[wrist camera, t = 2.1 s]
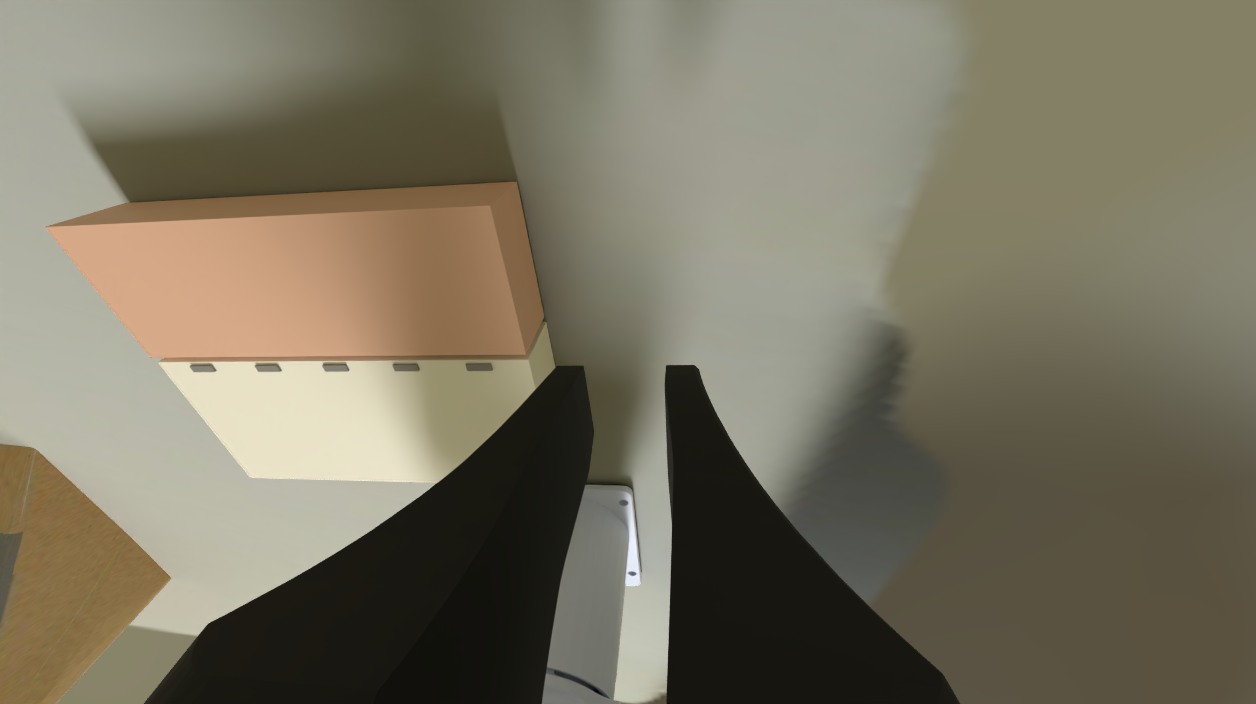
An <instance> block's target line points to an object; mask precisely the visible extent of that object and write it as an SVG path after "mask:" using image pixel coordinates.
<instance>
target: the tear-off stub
mask: <svg viewBox="0 0 1256 704" xmlns="http://www.w3.org/2000/svg"><path fill="white" fill-rule="evenodd" d="M45 228H46V229H47V230H48V231H49V233H50V234H51V235H52V236H53V238H54V239H55V240H56V241H57V243H58V244H59V245H60V246H61V248H62V249H63V250H64V251H65V253H66V254H67V255H68V256H69V257H70V259H71V260H72V261H73V262H74V264H75V265H76V266H77V267H78V269H79V270H80V271H81V272H82V274H83V275H84V276H85V277H86V279H87V280H88V281H89V282H90V283H91V285H92V286H93V287H94V288H95V290H96V291H97V292H98V293H99V295H100V296H101V297H102V298H103V300H104V301H105V302H106V303H107V304H108V306H109V307H110V308H111V309H112V311H113V312H114V313H115V314H116V316H117V317H118V318H119V319H120V321H121V322H122V323H123V324H124V326H125V327H126V328H127V329H128V330H129V332H130V333H131V334H132V335H133V337H134V338H135V339H136V340H137V342H138V343H139V344H140V345H141V347H142V348H143V349H144V350H145V352H146V353H147V354H148V355H149V356H150V358H178V357H300V356H422V355H526V354H527V352H528V350H529V348H530V345H531V343H532V341H533V339H534V337H535V335H536V333H537V331H538V329H539V327H540V325H541V323H542V321H543V319H544V312H543V307H542V303H541V298H540V293H539V288H538V283H537V278H536V273H535V268H534V263H533V258H532V253H531V248H530V243H529V239H528V234H527V229H526V224H525V219H524V214H523V209H522V204H521V199H520V194H519V189H518V184H517V182H501V183H482V184H464V185H445V186H427V187H409V188H390V189H372V190H354V191H335V192H317V193H298V194H280V195H262V196H243V197H225V198H207V199H188V200H170V201H152V202H133V203H124V204H121V205H117V206H114V207H110V208H107V209H104V210H100V211H97V212H94V213H90V214H87V215H84V216H80V217H77V218H74V219H70V220H67V221H64V222H60V223H57V224H54V225H50V226H47V227H45Z"/></svg>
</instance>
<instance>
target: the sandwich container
mask: <svg viewBox="0 0 1256 704" xmlns="http://www.w3.org/2000/svg"><path fill="white" fill-rule="evenodd" d="M170 580H171V577H170V576H169V575H168V574H167V573H166V572H165V571H164V570H163V569H162V568H161V567H160V566H159V565H158V564H157V563H156V562H155V561H154V560H153V559H152V558H151V557H150V556H149V555H148V554H147V553H146V552H145V551H144V550H143V549H142V548H141V547H140V546H139V545H138V544H137V543H136V542H135V541H134V540H133V539H132V538H131V537H130V536H129V535H128V534H127V533H126V532H124V531H123V530H122V529H121V528H120V527H119V526H118V525H117V524H116V523H115V522H114V521H113V520H112V519H110V518H109V517H108V516H107V515H106V514H105V513H104V512H103V511H102V510H101V509H100V508H99V507H98V506H96V505H95V504H94V503H93V502H92V501H91V500H90V499H89V498H88V497H87V496H86V495H85V494H84V493H82V492H81V491H80V490H79V489H78V488H77V487H76V486H75V485H74V484H73V483H72V482H71V481H70V480H68V479H67V478H66V477H65V476H64V475H63V474H62V473H61V472H60V471H59V470H58V469H57V468H56V467H54V466H53V465H52V464H51V463H50V462H49V461H48V460H47V459H46V458H45V457H44V456H43V455H42V454H40V453H39V452H38V451H37V450H36V449H34V448H31V447H22V446H13V445H3V444H0V704H56V703H57V702H58V701H59V700H60V699H61V698H62V697H63V695H64V694H66V692H67V691H68V690H69V689H70V688H71V687H72V686H73V685H74V684H75V683H76V682H77V681H78V679H79V678H80V677H81V676H82V675H83V674H84V673H85V672H86V671H87V670H88V668H89V667H90V666H91V665H92V664H93V663H94V662H95V661H96V660H97V659H98V658H99V657H100V656H101V654H102V653H103V652H104V651H105V650H106V649H107V648H108V647H109V646H110V645H111V644H112V642H113V641H114V640H115V639H116V638H117V637H118V636H119V635H120V634H121V633H122V631H124V630H125V628H126V627H127V626H128V625H129V624H130V623H131V622H132V621H133V620H134V619H135V618H136V617H137V615H138V614H139V613H140V612H141V611H142V610H143V609H144V608H145V607H146V606H147V605H148V604H149V602H150V601H151V600H152V599H153V598H154V597H155V596H156V595H157V594H158V593H159V592H160V590H161V589H162V588H163V587H164V586H165V585H166V584H167V583H168V582H169V581H170Z"/></svg>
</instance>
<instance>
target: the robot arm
mask: <svg viewBox="0 0 1256 704" xmlns="http://www.w3.org/2000/svg"><path fill="white" fill-rule="evenodd" d="M665 406H666V433H667V461H668V480H669V493H670V505H671V517H672V553H671V587H670V618H669V647H668V676H667V704H960V703H959V701H958V700H957V697H956V696H955V694H954V692H953V690H952V689H951V687H950V685H949V683H948V682H947V680H946V679H945V677H944V675H943V674H942V673H941V672H940V671H939V670H938V669H937V668H936V667H935V666H933V665H932V664H931V663H930V662H929V661H928V660H927V659H926V658H924V657H923V656H922V655H921V654H920V653H919V652H918V651H917V650H916V649H914V648H913V647H912V646H911V645H910V644H909V643H908V642H907V641H906V640H904V639H903V638H902V637H901V636H900V635H899V634H898V633H897V632H896V631H895V630H894V629H893V628H892V627H890V626H889V625H888V624H887V623H886V622H885V621H884V620H883V619H882V618H881V617H880V616H879V615H878V614H877V613H876V612H874V611H873V610H872V609H871V608H870V607H869V606H868V605H867V604H866V603H865V602H864V601H863V600H862V599H861V598H860V597H859V596H858V595H857V594H856V593H855V592H854V591H853V590H852V589H851V588H850V587H849V586H848V585H847V584H846V583H845V582H844V581H843V580H842V579H841V578H840V577H839V576H838V575H837V574H836V573H835V571H834V570H833V569H832V568H831V567H830V566H829V565H828V564H827V563H826V562H825V561H824V559H823V558H822V557H821V556H820V555H819V554H818V553H817V552H816V551H815V550H814V548H813V547H812V546H811V545H810V544H809V543H808V542H807V541H806V540H805V539H804V538H803V536H802V535H801V534H800V533H799V532H798V531H797V530H796V529H795V527H794V526H793V525H792V524H791V523H790V521H789V520H788V519H787V518H786V517H785V515H784V514H783V513H782V512H781V510H780V509H779V508H778V507H777V506H776V504H775V503H774V502H773V500H772V499H771V498H770V496H769V495H768V494H767V492H766V491H765V490H764V489H763V487H762V486H761V484H760V483H759V482H758V480H757V479H756V477H755V476H754V475H753V473H752V472H751V470H750V469H749V467H748V466H747V464H746V463H745V461H744V460H743V458H742V457H741V455H740V454H739V452H738V450H737V449H736V447H735V446H734V444H733V442H732V441H731V439H730V437H729V436H728V434H727V432H726V430H725V428H724V426H723V425H722V423H721V421H720V419H719V417H718V416H717V414H716V412H715V410H714V408H713V406H712V403H711V401H710V399H709V397H708V395H707V392H706V390H705V387H704V385H703V382H702V379H701V375H700V371H699V369H698V368H697V367H696V366H695V365H666V374H665ZM593 436H594V429H593V422H592V416H591V410H590V403H589V397H588V391H587V384H586V378H585V372H584V366H557V367H556V368H555V369H554V370H553V371H552V372H551V373H550V374H549V375H548V376H547V377H546V378H545V379H544V381H543V382H542V383H541V384H540V385H539V386H538V387H537V388H536V389H535V390H534V392H533V393H532V394H531V395H530V396H529V397H528V398H527V399H526V400H525V401H524V402H523V404H522V405H521V406H520V407H519V408H518V409H517V410H516V411H515V412H514V413H513V414H512V415H511V416H510V417H509V418H508V419H507V420H506V421H505V422H504V423H503V424H502V425H501V426H500V427H499V429H498V430H496V431H495V432H494V433H493V434H492V435H491V436H490V437H489V438H488V439H487V440H486V441H485V442H484V443H483V444H482V445H481V446H480V447H479V448H478V449H476V450H475V451H474V452H473V453H472V454H471V455H470V456H469V457H468V458H467V459H466V460H465V461H463V462H462V463H461V464H460V465H459V466H458V467H456V468H455V469H454V470H453V471H452V472H450V473H449V474H448V475H447V476H445V477H444V478H443V479H442V480H440V481H439V482H438V483H437V484H435V485H434V486H433V487H432V488H430V489H429V490H428V491H427V492H425V493H424V494H423V495H421V496H420V497H419V498H417V499H416V500H414V501H413V502H412V503H410V504H409V505H407V506H406V507H404V508H403V509H402V510H400V511H399V512H397V513H396V514H394V515H393V516H392V517H390V518H389V519H387V520H386V521H385V522H383V523H382V524H380V525H379V526H377V527H376V528H375V529H373V530H372V531H370V532H369V533H367V534H365V535H364V536H362V537H361V538H359V539H358V540H356V541H354V542H353V543H351V544H350V545H348V546H347V547H345V548H343V549H342V550H340V551H339V552H337V553H335V554H334V555H332V556H330V557H329V558H327V559H325V560H324V561H322V562H320V563H319V564H317V565H315V566H314V567H312V568H310V569H309V570H307V571H305V572H303V573H302V574H300V575H298V576H296V577H295V578H293V579H291V580H289V581H287V582H286V583H284V584H282V585H280V586H278V587H276V588H274V589H273V590H271V591H269V592H267V593H265V594H263V595H261V596H260V597H258V598H256V599H254V600H252V601H250V602H249V603H247V604H245V605H243V606H241V607H239V608H237V609H236V610H234V611H232V612H230V613H228V614H226V615H224V616H222V617H220V618H218V619H216V620H214V621H212V622H211V623H209V624H208V625H207V626H206V627H205V628H204V629H203V631H202V632H201V633H200V634H199V636H198V637H197V638H196V639H195V641H194V642H193V643H192V644H191V646H190V647H189V648H188V649H187V651H186V652H185V653H184V654H183V655H182V657H181V658H180V659H179V660H178V662H177V663H176V664H175V665H174V667H173V668H172V669H171V670H170V672H169V673H168V674H167V675H166V677H165V678H164V679H163V680H162V682H161V683H160V684H159V685H158V687H157V688H156V689H155V691H154V692H153V693H152V694H151V695H150V697H149V698H148V699H147V700H146V702H145V703H144V704H622V702H619V701H615V700H614V691H615V682H616V676H617V665H618V655H619V645H620V635H621V625H622V615H623V604H624V594H625V586H637V585H639V584H641V568H640V558H639V549H638V539H637V529H636V520H635V510H634V500H633V492H632V490H631V489H630V488H629V487H627V486H618V485H585V484H586V480H587V476H588V472H589V466H590V459H591V452H592V444H593Z"/></svg>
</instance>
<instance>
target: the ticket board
mask: <svg viewBox="0 0 1256 704" xmlns="http://www.w3.org/2000/svg"><path fill="white" fill-rule="evenodd" d="M158 363H159V365H160V366H161V367H162V368H163V370H164V371H165V372H166V373H167V375H168V376H169V377H170V378H171V380H172V381H173V382H174V383H175V385H176V386H177V387H178V388H179V390H180V391H181V392H182V393H183V395H184V396H185V397H186V398H187V400H188V401H189V402H190V403H191V405H192V406H193V407H194V408H195V409H196V411H197V412H198V413H199V414H200V416H201V417H202V418H203V419H204V421H205V422H206V423H207V424H208V426H209V427H210V428H211V429H212V431H213V432H214V433H215V434H216V436H217V437H218V438H219V439H220V441H221V442H222V443H223V444H224V446H225V447H226V448H227V449H228V451H229V452H230V453H231V454H232V456H233V457H234V458H235V459H236V461H237V462H238V463H239V464H240V466H241V467H242V468H243V469H244V471H245V472H246V473H247V474H248V476H249V477H250V478H276V479H314V480H352V481H390V482H427V483H438V482H439V481H440V480H442V479H443V478H444V477H445V476H447V475H448V474H449V473H450V472H452V471H453V470H454V469H455V468H456V467H458V466H459V465H460V464H461V463H462V462H463V461H465V460H466V459H467V458H468V457H469V456H470V455H471V454H472V453H473V452H474V451H475V450H476V449H478V448H479V447H480V446H481V445H482V444H483V443H484V442H485V441H486V440H487V439H488V438H489V437H490V436H491V435H492V434H493V433H494V432H495V431H496V430H498V429H499V427H500V426H501V425H502V424H503V423H504V422H505V421H506V420H507V419H508V418H509V417H510V416H511V415H512V414H513V413H514V412H515V411H516V410H517V409H518V408H519V407H520V406H521V405H522V404H523V402H524V401H525V400H526V399H527V398H528V397H529V396H530V395H531V394H532V393H533V392H534V390H535V389H536V388H537V387H538V386H539V385H540V384H541V383H542V382H543V381H544V379H545V378H546V377H547V376H548V375H549V374H550V373H551V372H552V371H553V370H554V369H555V363H554V358H553V353H552V348H551V343H550V338H549V333H548V328H547V323H546V322H542V323H541V325H540V327H539V329H538V331H537V333H536V335H535V337H534V339H533V341H532V343H531V345H530V348H529V350H528V352H527V354H526V355H422V356H300V357H178V358H164V359H162V360H160V361H159V362H158Z"/></svg>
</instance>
